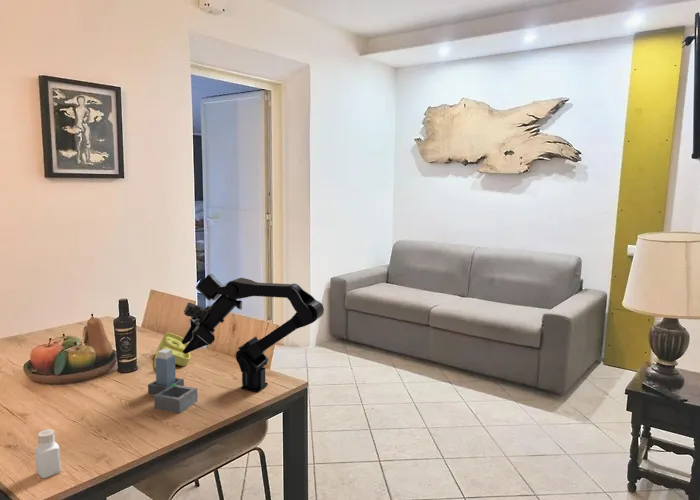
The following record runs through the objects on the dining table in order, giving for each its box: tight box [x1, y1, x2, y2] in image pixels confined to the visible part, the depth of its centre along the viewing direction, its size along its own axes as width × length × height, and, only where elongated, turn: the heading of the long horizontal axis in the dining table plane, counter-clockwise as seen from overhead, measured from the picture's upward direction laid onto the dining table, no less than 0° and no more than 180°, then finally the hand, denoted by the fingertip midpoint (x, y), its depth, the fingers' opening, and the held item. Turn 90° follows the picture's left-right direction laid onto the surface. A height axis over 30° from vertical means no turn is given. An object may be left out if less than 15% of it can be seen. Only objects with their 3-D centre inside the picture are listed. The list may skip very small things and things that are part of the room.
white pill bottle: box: [34, 428, 62, 479], centre depth 110 cm, size 4×4×10 cm
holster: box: [147, 377, 185, 396], centre depth 154 cm, size 7×7×3 cm
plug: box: [154, 349, 177, 387], centre depth 154 cm, size 4×4×13 cm
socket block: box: [153, 383, 198, 414], centre depth 145 cm, size 8×8×4 cm
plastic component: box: [153, 332, 192, 369], centre depth 183 cm, size 20×7×10 cm
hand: (183, 347), depth 155 cm, fingers open, 9 cm apart
